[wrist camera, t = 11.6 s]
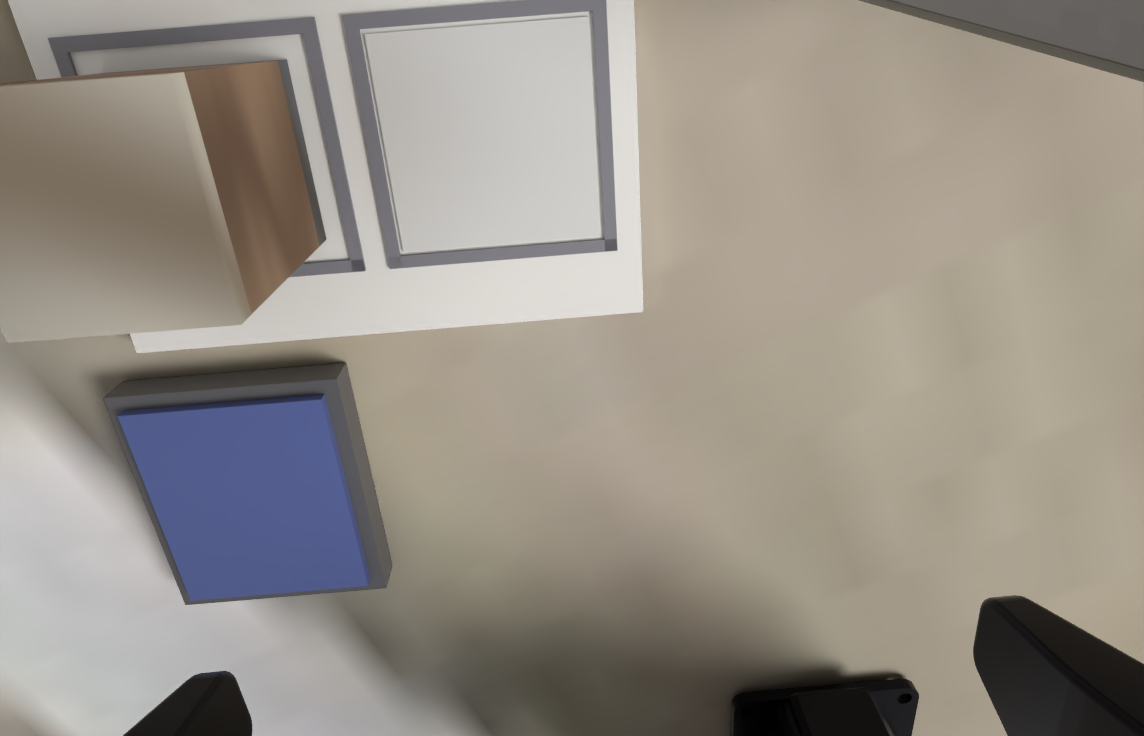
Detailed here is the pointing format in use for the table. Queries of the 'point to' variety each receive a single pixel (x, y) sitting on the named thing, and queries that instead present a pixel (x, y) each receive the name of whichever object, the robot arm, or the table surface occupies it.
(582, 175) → the sheet
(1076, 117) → the table surface
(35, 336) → the beige block
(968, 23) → the digital clock
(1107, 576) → the table surface
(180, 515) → the ink pad
